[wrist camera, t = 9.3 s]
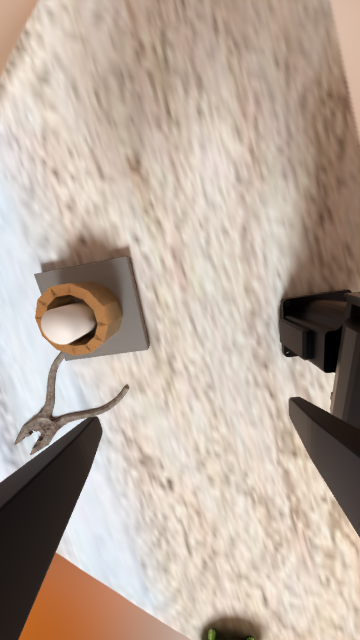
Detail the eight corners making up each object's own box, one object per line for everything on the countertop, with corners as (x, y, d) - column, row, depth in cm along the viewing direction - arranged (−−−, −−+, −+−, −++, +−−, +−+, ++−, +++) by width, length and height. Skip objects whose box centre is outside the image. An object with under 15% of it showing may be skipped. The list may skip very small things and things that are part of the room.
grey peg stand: (129, 257, 18) (100, 249, 12) (149, 346, 20) (133, 374, 15) (41, 274, 19) (-24, 274, 13) (71, 356, 21) (27, 387, 16)
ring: (113, 277, 18) (94, 278, 14) (128, 336, 19) (115, 349, 16) (55, 288, 18) (24, 291, 15) (75, 344, 20) (51, 358, 16)
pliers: (135, 380, 21) (71, 475, 26) (137, 376, 22) (75, 469, 27) (63, 338, 20) (12, 445, 25) (68, 335, 21) (17, 440, 26)
